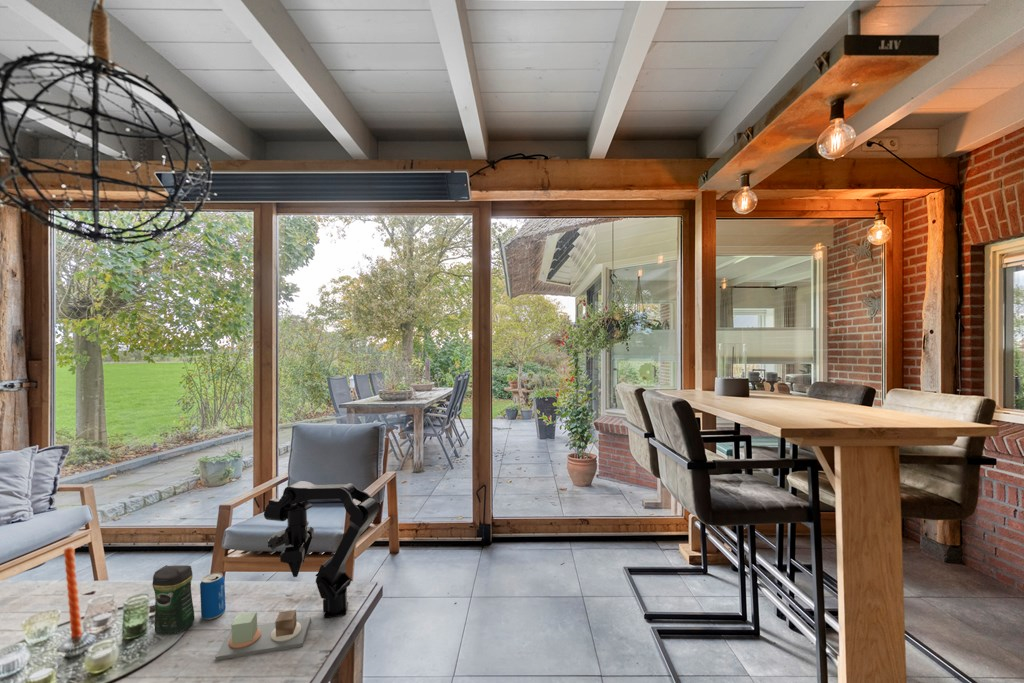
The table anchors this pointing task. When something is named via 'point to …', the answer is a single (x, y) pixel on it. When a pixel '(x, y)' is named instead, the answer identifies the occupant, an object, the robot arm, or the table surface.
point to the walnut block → (285, 623)
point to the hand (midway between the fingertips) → (298, 569)
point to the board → (265, 641)
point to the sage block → (244, 627)
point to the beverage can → (212, 596)
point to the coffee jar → (173, 599)
